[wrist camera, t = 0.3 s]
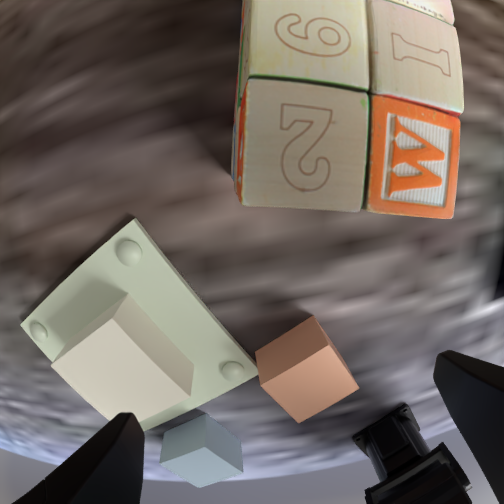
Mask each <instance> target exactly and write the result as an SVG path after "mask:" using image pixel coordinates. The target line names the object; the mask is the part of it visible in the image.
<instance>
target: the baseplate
mask: <svg viewBox="0 0 504 504" xmlns="http://www.w3.org/2000/svg"><path fill="white" fill-rule="evenodd" d="M128 293H129V294H130V296H131V297H132V298H133V299H134V300H135V301H136V303H137V304H138V305H139V306H140V307H141V308H142V310H143V311H144V312H145V313H146V314H147V315H148V316H149V318H150V319H151V320H152V321H153V322H154V323H155V324H156V325H157V326H158V328H159V329H160V330H161V331H162V332H163V333H164V334H165V335H166V336H167V337H168V338H169V339H170V340H171V342H172V343H173V344H174V345H175V346H176V347H177V348H178V349H179V350H180V351H181V352H182V353H183V354H184V355H185V356H186V357H187V358H188V359H189V360H190V361H191V362H192V363H193V364H194V372H193V380H192V388H191V397H190V398H188V399H186V400H184V401H182V402H180V403H178V404H176V405H174V406H172V407H170V408H168V409H166V410H163V411H161V412H159V413H157V414H155V415H153V416H151V417H149V418H147V419H144V420H142V421H140V422H139V424H140V425H141V427H142V429H143V431H146V430H148V429H151V428H153V427H155V426H157V425H160V424H162V423H164V422H166V421H169V420H171V419H173V418H175V417H177V416H179V415H181V414H184V413H186V412H188V411H190V410H192V409H194V408H196V407H198V406H200V405H202V404H204V403H206V402H208V401H210V400H212V399H214V398H216V397H218V396H220V395H222V394H223V393H225V392H227V391H229V390H231V389H233V388H235V387H237V386H238V385H240V384H242V383H244V382H246V381H248V380H249V379H251V378H253V377H255V376H257V375H258V368H257V363H256V362H255V361H254V360H253V359H252V358H251V357H250V356H249V355H248V354H247V352H246V351H245V350H244V349H243V348H242V347H241V346H240V345H239V343H238V342H237V341H236V340H235V339H234V338H233V337H232V336H231V334H230V333H229V332H228V331H227V330H226V329H225V328H224V326H223V325H222V324H221V323H220V322H219V321H218V319H217V318H216V317H215V316H214V315H213V314H212V312H211V311H210V310H209V309H208V308H207V307H206V305H205V304H204V303H203V302H202V301H201V299H200V298H199V297H198V296H197V295H196V293H195V292H194V291H193V290H192V289H191V287H190V286H189V285H188V284H187V282H186V281H185V280H184V279H183V278H182V276H181V275H180V274H179V273H178V271H177V270H176V269H175V268H174V266H173V265H172V264H171V263H170V261H169V260H168V259H167V258H166V256H165V255H164V254H163V252H162V251H161V250H160V249H159V247H158V246H157V245H156V243H155V242H154V241H153V240H152V238H151V237H150V236H149V234H148V233H147V232H146V230H145V229H144V228H143V226H142V225H141V224H140V223H139V221H138V220H137V219H136V218H135V219H133V220H132V221H131V222H130V223H128V224H127V225H126V226H125V227H124V228H122V229H121V230H120V231H119V232H118V233H117V234H115V235H114V236H113V237H112V238H111V239H110V240H108V241H107V242H106V243H105V244H104V245H103V246H101V247H100V248H99V249H98V250H97V251H96V252H95V253H94V254H92V255H91V256H90V257H89V258H88V259H87V260H86V261H85V262H84V263H83V264H81V265H80V266H79V267H78V268H77V269H76V270H75V271H74V272H73V273H72V274H71V275H70V276H69V277H67V278H66V279H65V280H64V281H63V282H62V283H61V284H60V285H59V286H58V287H57V288H56V289H55V290H54V291H53V292H52V293H51V294H50V295H49V296H48V297H47V298H46V299H45V300H44V301H43V302H42V303H41V304H40V305H39V306H38V307H37V308H36V309H35V310H34V311H33V312H32V313H31V314H30V315H29V316H28V317H27V318H26V319H25V320H24V321H23V323H22V324H21V327H22V328H23V329H24V330H25V331H26V333H27V334H28V335H29V336H30V337H31V339H32V340H33V341H34V342H35V343H36V344H37V346H38V347H39V348H40V349H41V350H42V351H43V352H44V354H45V355H46V356H47V357H48V358H49V359H50V360H51V361H52V362H53V361H54V360H55V358H56V357H57V356H58V354H59V353H60V351H61V350H62V349H63V347H64V346H65V345H66V343H67V342H68V341H69V339H71V338H72V337H73V336H74V335H76V334H77V333H78V332H79V331H81V330H82V329H83V328H84V327H86V326H87V325H88V324H89V323H91V322H92V321H93V320H95V319H96V318H97V317H98V316H100V315H101V314H102V313H104V312H105V311H106V310H107V309H109V308H110V307H111V306H113V305H114V304H115V303H116V302H118V301H119V300H120V299H122V298H123V297H124V296H126V295H127V294H128Z"/></svg>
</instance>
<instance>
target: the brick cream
mask: <svg viewBox="0 0 504 504" xmlns="http://www.w3.org/2000/svg"><path fill="white" fill-rule="evenodd" d="M51 366H52V367H53V369H54V370H55V371H56V372H57V373H58V374H59V375H60V376H61V377H62V378H63V379H64V380H65V381H66V382H67V383H68V384H69V385H70V386H71V387H72V388H73V389H74V390H75V391H77V392H78V393H79V394H80V395H81V396H82V397H83V398H84V399H85V400H86V401H87V402H88V403H89V404H91V405H92V406H93V407H94V408H95V409H96V410H97V411H99V412H100V413H101V414H102V415H103V416H104V417H106V418H107V419H108V420H109V421H110V420H112V419H113V418H114V417H115V416H116V415H117V414H118V413H120V412H132V413H134V415H135V416H136V418H137V420H138V422H140V421H142V420H144V419H147V418H149V417H151V416H153V415H155V414H157V413H159V412H161V411H163V410H166V409H168V408H170V407H172V406H174V405H176V404H178V403H180V402H182V401H184V400H186V399H188V398H190V397H191V388H192V380H193V372H194V364H193V363H192V362H191V361H190V360H189V359H188V358H187V357H186V356H185V355H184V354H183V353H182V352H181V351H180V350H179V349H178V348H177V347H176V346H175V345H174V344H173V343H172V342H171V340H170V339H169V338H168V337H167V336H166V335H165V334H164V333H163V332H162V331H161V330H160V329H159V328H158V326H157V325H156V324H155V323H154V322H153V321H152V320H151V319H150V318H149V316H148V315H147V314H146V313H145V312H144V311H143V310H142V308H141V307H140V306H139V305H138V304H137V303H136V301H135V300H134V299H133V298H132V297H131V296H130V294H129V293H128V294H127V295H126V296H124V297H123V298H122V299H120V300H119V301H118V302H116V303H115V304H114V305H113V306H111V307H110V308H109V309H107V310H106V311H105V312H104V313H102V314H101V315H100V316H98V317H97V318H96V319H95V320H93V321H92V322H91V323H89V324H88V325H87V326H86V327H84V328H83V329H82V330H81V331H79V332H78V333H77V334H76V335H74V336H73V337H72V338H71V339H69V341H68V342H67V343H66V345H65V346H64V347H63V349H62V350H61V351H60V353H59V354H58V356H57V357H56V358H55V360H54V361H53V363H52V364H51Z"/></svg>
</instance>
